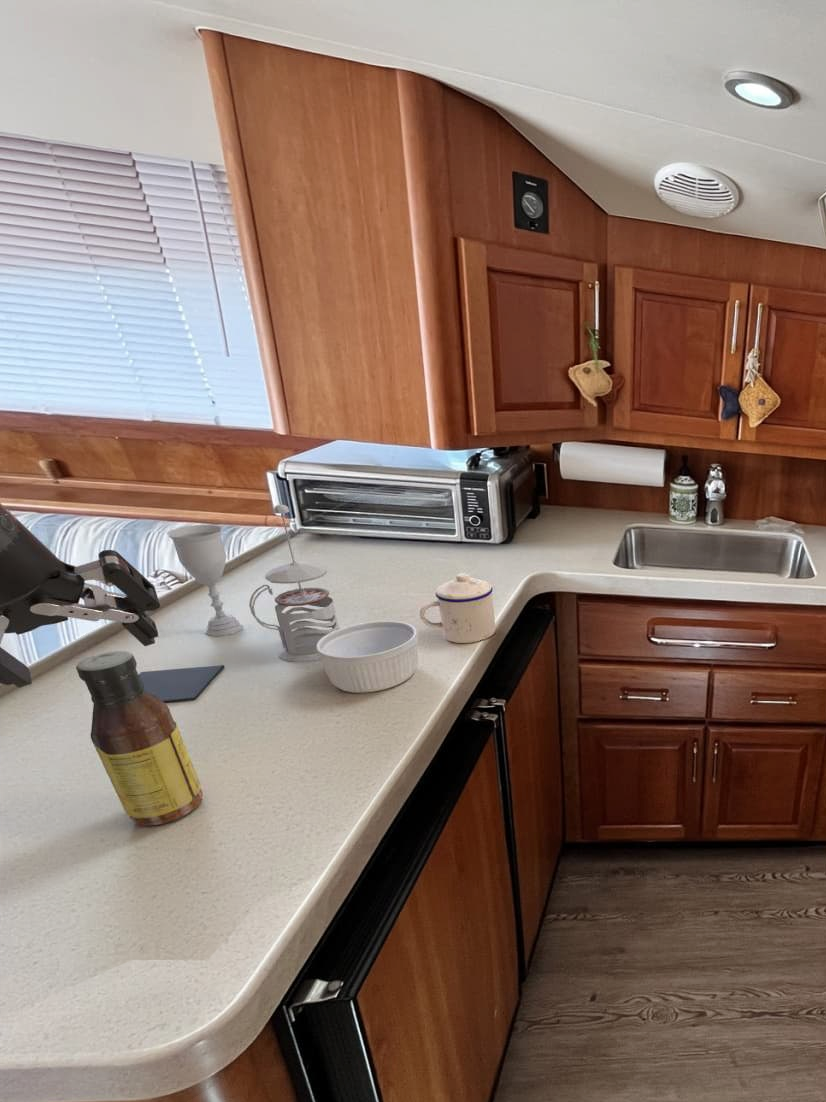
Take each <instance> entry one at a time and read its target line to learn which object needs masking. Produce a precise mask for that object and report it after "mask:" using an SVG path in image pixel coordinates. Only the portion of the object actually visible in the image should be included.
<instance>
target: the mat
mask: <svg viewBox="0 0 826 1102" xmlns="http://www.w3.org/2000/svg"><path fill="white" fill-rule="evenodd" d="M224 668H225V665H224V664H219V665H208V666H198V667H197V666H196V667H195V666H194V667H185V668H171V669H161V670H148V671H140V673H138V675H139V677H140V680H141V682H142V683H143V684H144V686H145V691H146V692H149V693H150V694H152V695H155V696H157V697H158V698H159V699H160V700H162V701H163V702H164V703H165V704H167V703H177V702H186V701H187V702H188V701H195V700H196V699H197V698H198V697H199V696H201V694H202V693H203V692H204V691H205V690H206V688H207V687H208V686H209V685H210V684H211V683H212V682H213V681H214V680H215V678H217V676H218V675H219V674H220V673H221V672H222V670H224Z"/></svg>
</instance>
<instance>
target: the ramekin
mask: <svg viewBox="0 0 826 1102" xmlns="http://www.w3.org/2000/svg"><path fill="white" fill-rule="evenodd" d="M418 642H419V634H418V630H417V629H416V627H415V626H414V625H412V624H409V623H407V622H404V621H398V620H373V621H366V622H361V623H355V624H351V625H347V626H344V627H341V628H339V629H338V630H335V631H333V632H331V633H329V634H327V635H325V636H324V637H323V638H321V639H320V640H319V641H318V643H317V645H316V649H317V654H318V657H319V658H320V659H319V660H321V663H322V665H323V667H324V670H325V672H326V675H327V678H328V679H329V681H330V683H331V684H332V685H333V686H334V687H336V688H337V689H339V690H341V691H344V692H348V693H354V694H356V693H357V694H365V693H374V692H379V691H383V690H387V689H391V688H393V687H396V686H399V685H400V684H402V683H405V681H408V680H409V678H411V677H412V676H413V674H414V673H415V672H416V670H417V667H418V659H419V658H418V657H419V656H418Z"/></svg>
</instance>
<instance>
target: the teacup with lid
mask: <svg viewBox="0 0 826 1102" xmlns="http://www.w3.org/2000/svg"><path fill="white" fill-rule="evenodd" d="M492 592H493V587H492V585H491V584H490V583H489V582H488V581H486V580H484V579H478V578H473V577H470V575H469V574H468V573H466V572H462V573H458V574H456V578H454V579H453V580H452V579H451V581H447V582H445V583H442V584H441V585H439V586H438V587H437V589H436V591H435V597H436V598H437V600H434V601H433V600H432V601H429V602H426V603H424V604H423V605H422V606H421V607H420V609H419V613H418V614H419V618H420V620H421V621H422V623H423V624H424V625H425V626H427V627H429V628H433V629H440V628H441V629H442V635H443V637H444V639H446V641H448V642H450V643H455V644H471V643H476V642H480V640H481V641H483V640H482V639H484V640H486V639H488V638H490V637H492V636H493V635H494V634H495V633H496V630H497V628H496V620H495V610H494V601H493V594H492ZM434 607H438V609H439V616H440V622H431V621H429V620H428V619H427V618H426V616H425V612H426V611H427V610H428V609H430V608H434ZM485 638H486V639H485Z"/></svg>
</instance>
